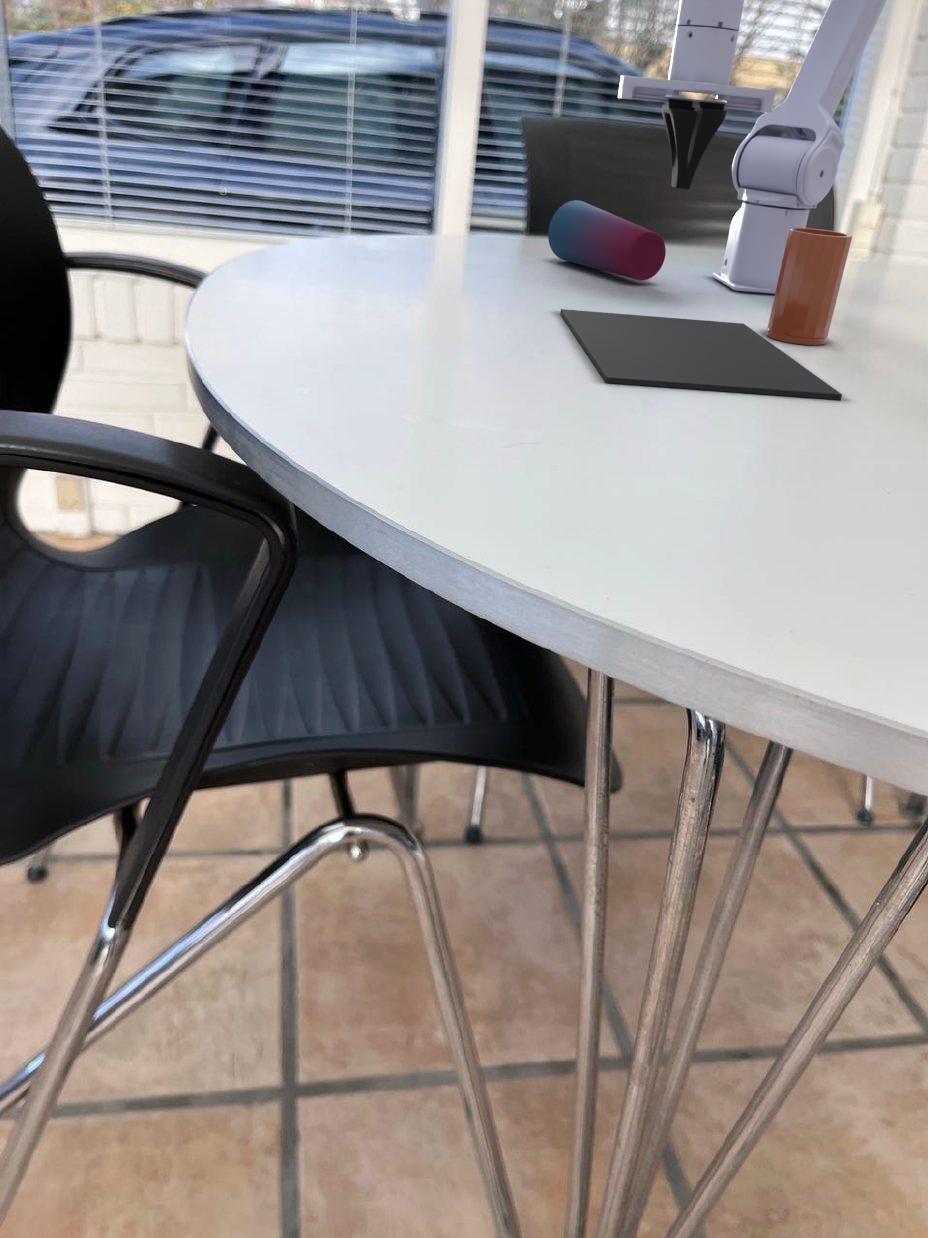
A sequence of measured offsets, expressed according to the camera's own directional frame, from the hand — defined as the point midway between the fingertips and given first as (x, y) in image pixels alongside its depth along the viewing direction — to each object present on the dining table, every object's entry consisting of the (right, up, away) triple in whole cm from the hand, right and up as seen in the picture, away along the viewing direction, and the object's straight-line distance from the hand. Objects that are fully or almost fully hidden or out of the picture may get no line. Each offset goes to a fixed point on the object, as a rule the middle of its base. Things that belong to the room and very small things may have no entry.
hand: (680, 187), depth 101 cm
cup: (-2, -4, +9) cm, 10 cm away
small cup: (+8, -17, -9) cm, 21 cm away
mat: (-4, -21, -18) cm, 28 cm away
